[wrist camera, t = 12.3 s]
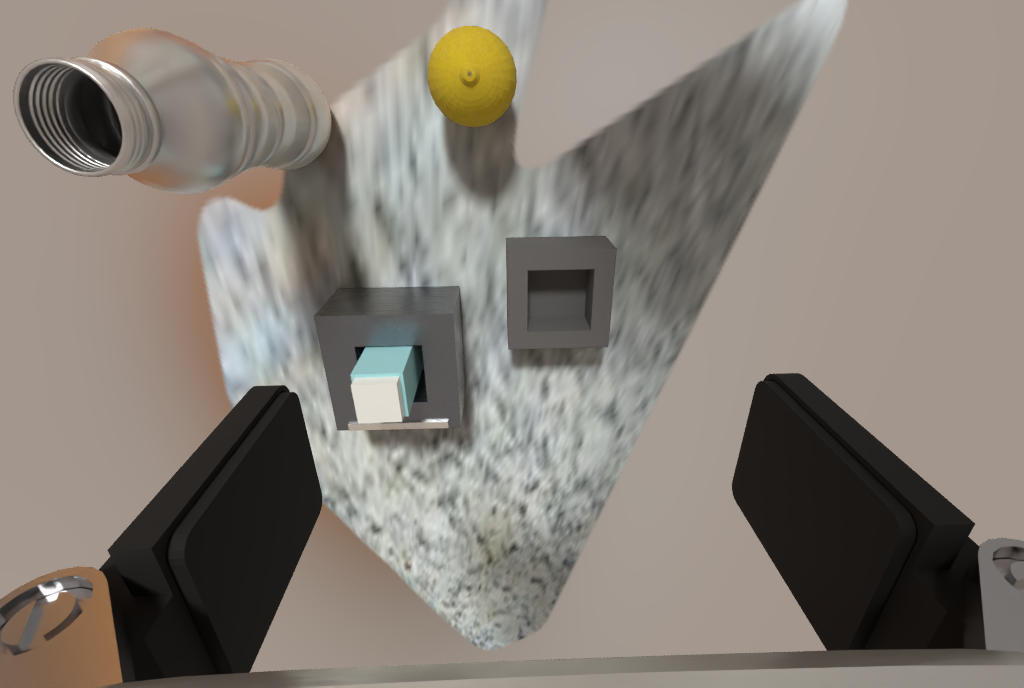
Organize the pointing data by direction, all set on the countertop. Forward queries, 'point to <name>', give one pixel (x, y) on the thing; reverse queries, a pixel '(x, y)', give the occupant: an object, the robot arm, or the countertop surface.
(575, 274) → the grey square socket
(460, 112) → the lemon
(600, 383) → the countertop surface
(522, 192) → the countertop surface
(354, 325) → the port block
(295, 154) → the plastic bottle
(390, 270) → the countertop surface
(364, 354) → the plug
